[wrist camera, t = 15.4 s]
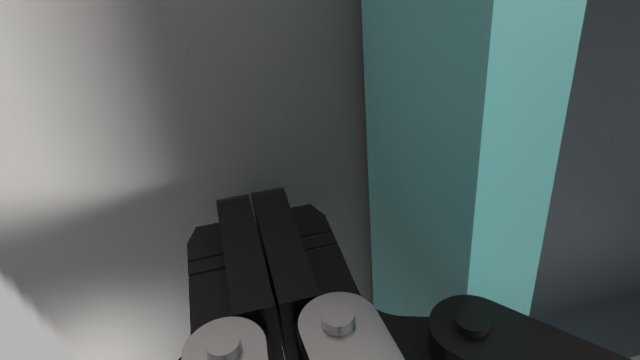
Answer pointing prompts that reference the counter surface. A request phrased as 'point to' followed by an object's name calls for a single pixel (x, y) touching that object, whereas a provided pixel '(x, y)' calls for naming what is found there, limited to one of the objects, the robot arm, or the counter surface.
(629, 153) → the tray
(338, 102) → the counter surface
